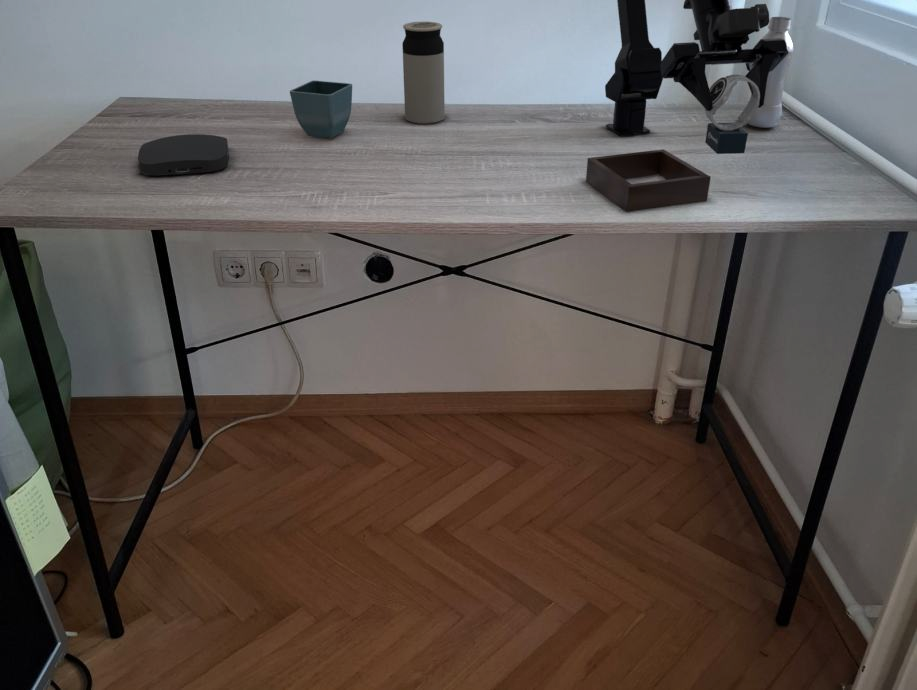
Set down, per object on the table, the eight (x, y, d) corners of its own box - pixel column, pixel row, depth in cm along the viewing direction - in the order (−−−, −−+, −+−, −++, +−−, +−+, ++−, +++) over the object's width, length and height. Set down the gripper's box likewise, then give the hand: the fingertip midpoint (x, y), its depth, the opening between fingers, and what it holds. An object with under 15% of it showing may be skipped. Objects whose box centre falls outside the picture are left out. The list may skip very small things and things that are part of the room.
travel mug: (452, 117, 168) (451, 23, 159) (430, 127, 163) (428, 30, 153) (419, 111, 172) (417, 19, 163) (397, 120, 166) (393, 26, 157)
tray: (585, 181, 136) (587, 157, 134) (660, 172, 140) (663, 149, 138) (626, 212, 125) (629, 186, 123) (706, 201, 129) (710, 176, 127)
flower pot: (293, 138, 156) (287, 90, 152) (317, 125, 163) (312, 79, 159) (334, 144, 154) (330, 95, 149) (356, 130, 161) (353, 83, 156)
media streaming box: (147, 151, 150) (143, 135, 148) (230, 146, 152) (227, 130, 151) (137, 179, 138) (133, 161, 136) (228, 173, 140) (225, 155, 139)
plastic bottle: (780, 132, 159) (803, 22, 149) (744, 130, 160) (763, 21, 150) (776, 122, 165) (797, 15, 154) (741, 120, 166) (760, 14, 155)
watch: (693, 142, 133) (704, 72, 127) (742, 141, 133) (755, 71, 127) (704, 154, 128) (716, 81, 122) (755, 153, 128) (769, 80, 123)
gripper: (678, -15, 120) (701, 82, 116) (796, -19, 123) (821, 75, 120) (650, 31, 130) (670, 121, 127) (758, 26, 134) (781, 114, 130)
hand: (735, 108), depth 126 cm, fingers closed on watch, 8 cm apart
